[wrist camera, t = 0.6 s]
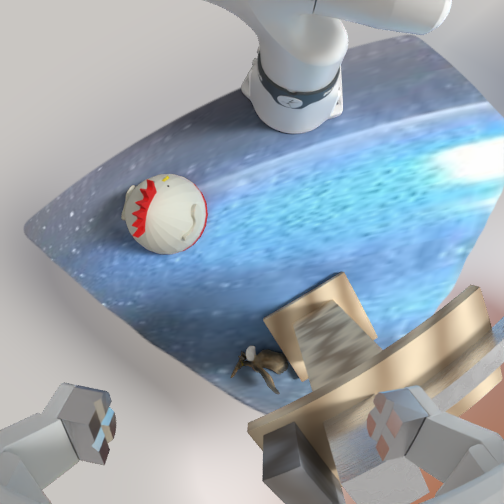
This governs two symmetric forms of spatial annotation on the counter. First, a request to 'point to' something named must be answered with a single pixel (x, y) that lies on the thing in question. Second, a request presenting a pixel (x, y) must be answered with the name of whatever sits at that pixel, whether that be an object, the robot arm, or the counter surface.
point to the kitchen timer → (165, 213)
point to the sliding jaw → (401, 469)
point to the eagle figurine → (263, 364)
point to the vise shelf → (351, 377)
